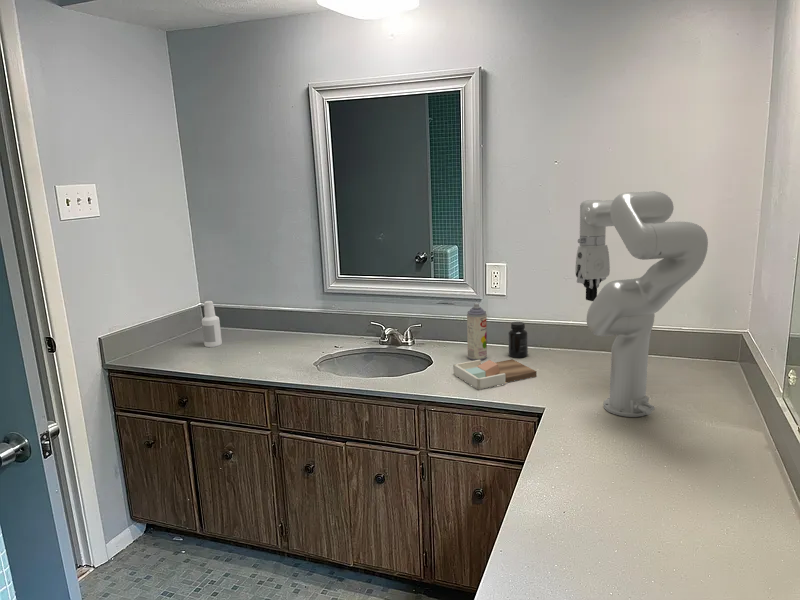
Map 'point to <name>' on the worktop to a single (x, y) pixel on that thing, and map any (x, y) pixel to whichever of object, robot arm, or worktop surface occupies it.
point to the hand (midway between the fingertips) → (591, 300)
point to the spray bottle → (211, 326)
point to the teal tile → (477, 372)
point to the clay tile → (489, 368)
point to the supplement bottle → (518, 340)
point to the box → (473, 380)
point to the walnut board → (515, 370)
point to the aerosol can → (477, 333)
